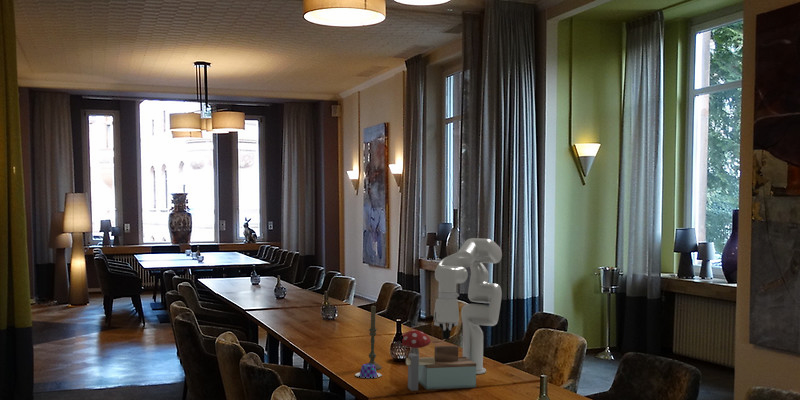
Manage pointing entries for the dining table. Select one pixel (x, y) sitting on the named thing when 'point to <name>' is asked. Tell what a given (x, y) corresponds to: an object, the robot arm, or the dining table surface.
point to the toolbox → (439, 376)
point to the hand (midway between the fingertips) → (446, 339)
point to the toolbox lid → (449, 358)
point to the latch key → (422, 361)
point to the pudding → (368, 371)
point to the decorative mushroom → (415, 340)
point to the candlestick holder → (372, 334)
